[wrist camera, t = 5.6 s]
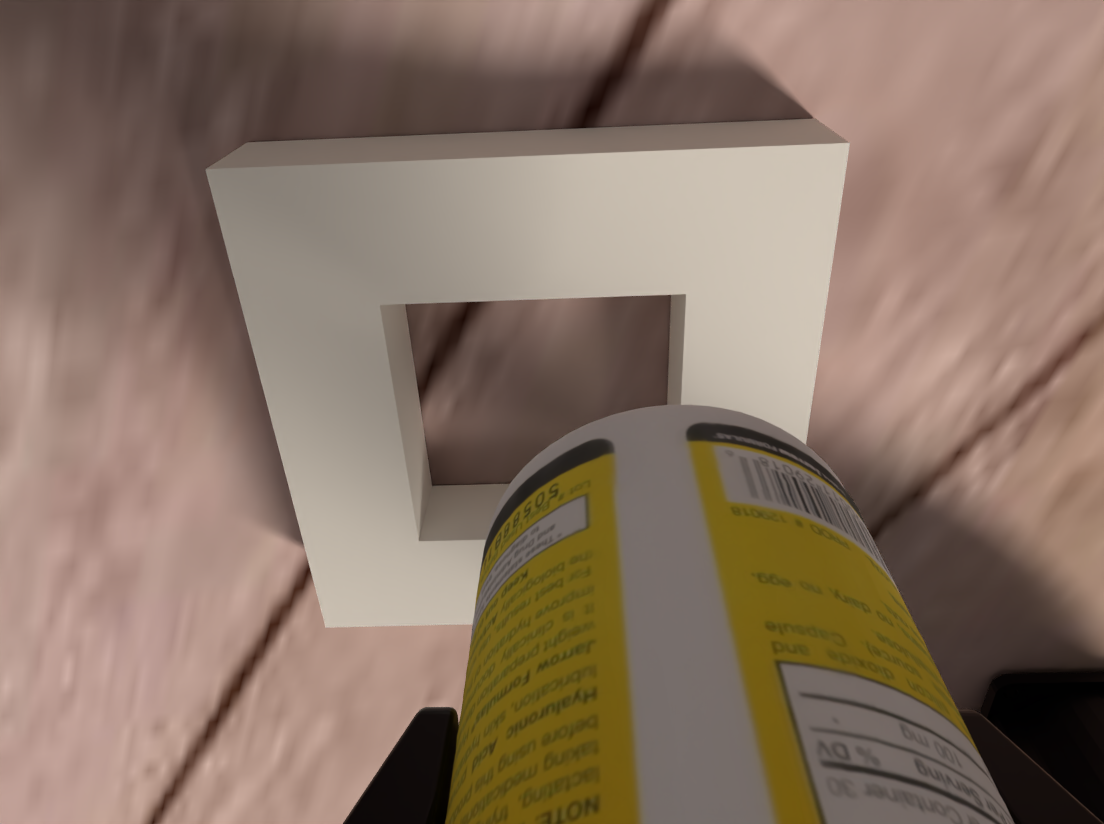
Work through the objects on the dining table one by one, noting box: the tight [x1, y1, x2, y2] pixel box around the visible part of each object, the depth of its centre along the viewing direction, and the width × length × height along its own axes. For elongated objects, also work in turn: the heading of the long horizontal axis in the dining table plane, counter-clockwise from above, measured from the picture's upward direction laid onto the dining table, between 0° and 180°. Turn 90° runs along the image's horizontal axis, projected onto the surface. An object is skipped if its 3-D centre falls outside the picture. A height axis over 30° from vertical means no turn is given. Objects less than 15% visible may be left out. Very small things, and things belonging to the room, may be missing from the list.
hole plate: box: [205, 119, 850, 627], centre depth 20 cm, size 13×13×2 cm
